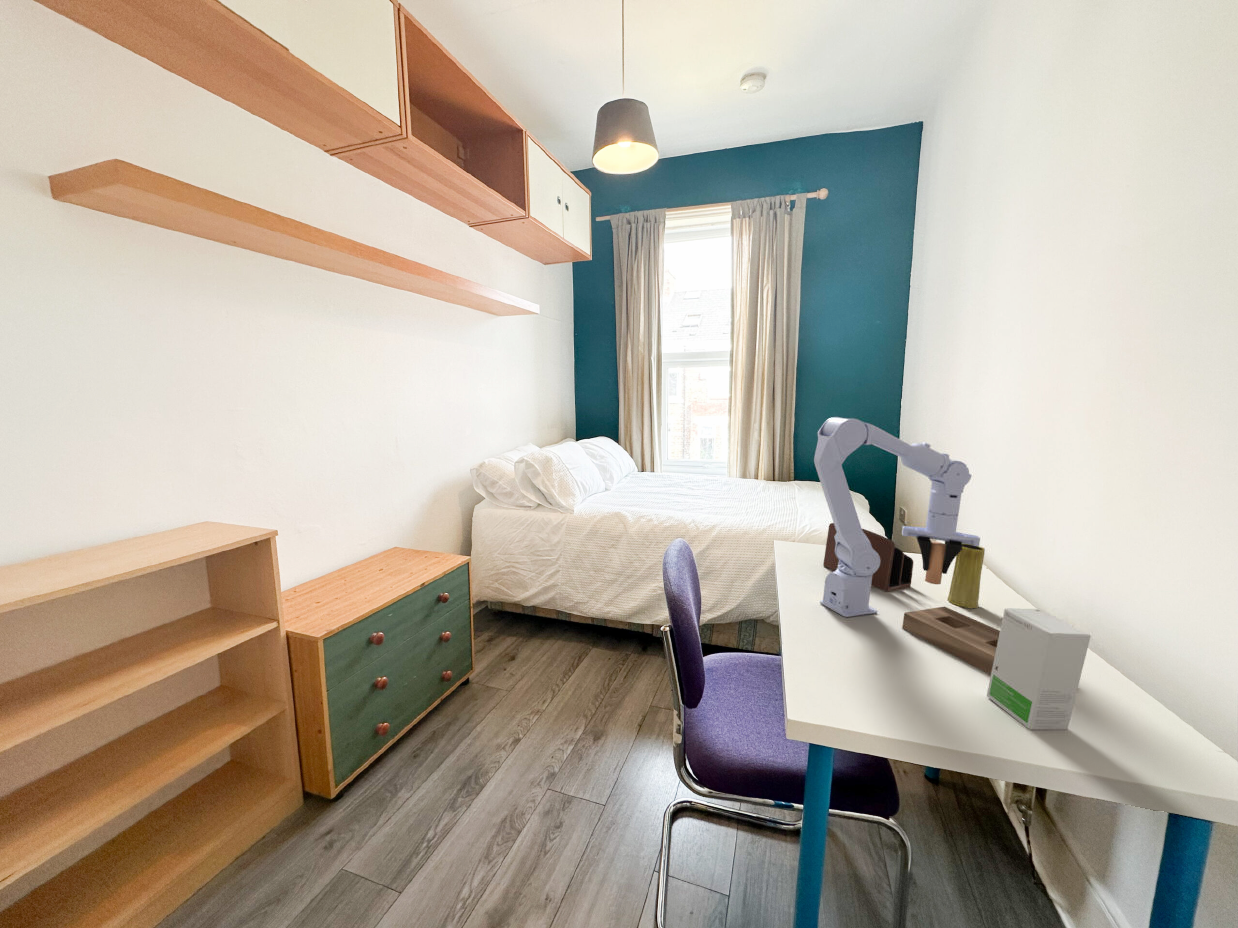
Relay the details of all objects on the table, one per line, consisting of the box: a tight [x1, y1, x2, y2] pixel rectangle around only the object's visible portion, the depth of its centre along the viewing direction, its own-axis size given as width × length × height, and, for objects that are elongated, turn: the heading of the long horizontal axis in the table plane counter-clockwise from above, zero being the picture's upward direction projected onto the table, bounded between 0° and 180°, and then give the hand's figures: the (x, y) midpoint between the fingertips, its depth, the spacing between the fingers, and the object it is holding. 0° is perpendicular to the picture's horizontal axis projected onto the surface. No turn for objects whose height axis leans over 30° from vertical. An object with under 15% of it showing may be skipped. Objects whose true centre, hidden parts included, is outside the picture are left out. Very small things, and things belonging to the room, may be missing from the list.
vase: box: [947, 543, 986, 609], centre depth 116 cm, size 6×6×14 cm
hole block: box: [901, 606, 1000, 675], centre depth 94 cm, size 12×22×4 cm, turn 20°
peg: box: [924, 541, 946, 585], centre depth 109 cm, size 3×3×9 cm
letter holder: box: [823, 522, 914, 593], centre depth 132 cm, size 10×20×14 cm, turn 27°
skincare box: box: [986, 607, 1092, 731], centre depth 74 cm, size 8×7×16 cm
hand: (934, 570), depth 110 cm, fingers closed on peg, 3 cm apart
